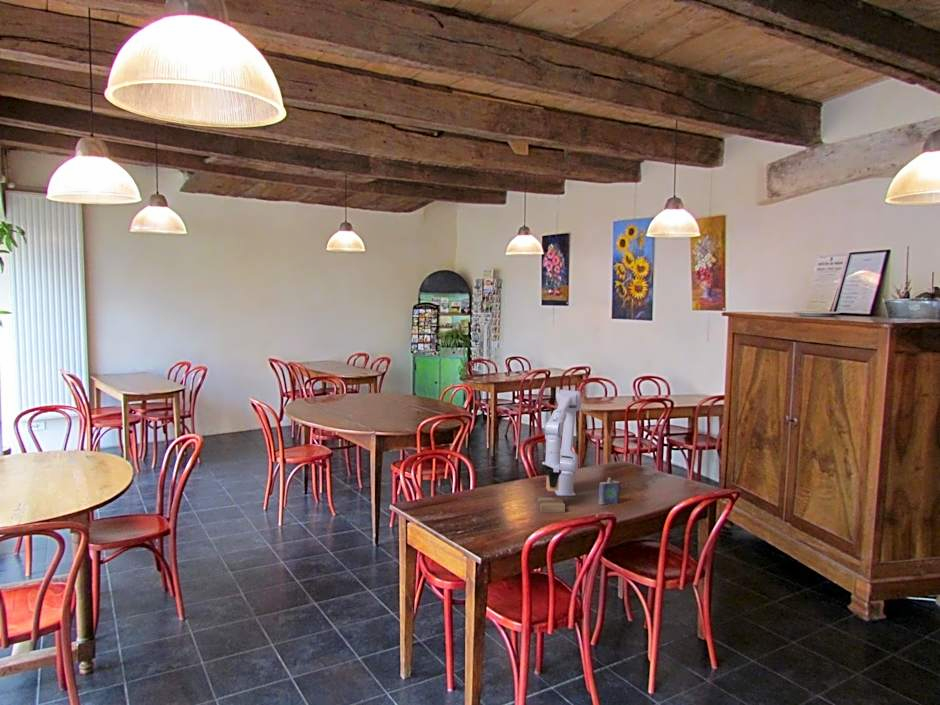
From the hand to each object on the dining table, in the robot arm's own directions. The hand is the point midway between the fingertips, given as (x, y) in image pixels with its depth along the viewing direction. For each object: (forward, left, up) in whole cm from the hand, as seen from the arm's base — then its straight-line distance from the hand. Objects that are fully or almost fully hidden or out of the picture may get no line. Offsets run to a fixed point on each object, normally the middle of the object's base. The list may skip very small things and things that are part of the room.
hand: (551, 485), depth 253 cm
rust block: (0, 0, -2) cm, 2 cm away
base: (0, 0, -9) cm, 9 cm away
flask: (-6, +25, -10) cm, 27 cm away
